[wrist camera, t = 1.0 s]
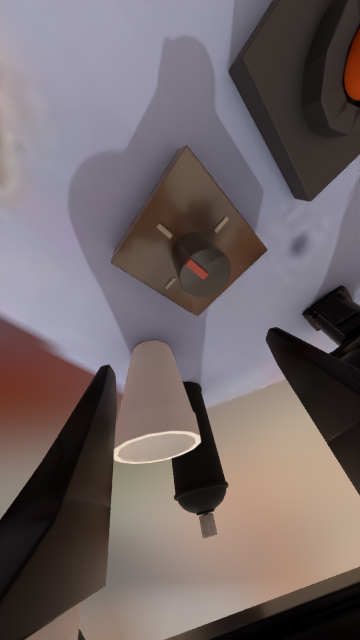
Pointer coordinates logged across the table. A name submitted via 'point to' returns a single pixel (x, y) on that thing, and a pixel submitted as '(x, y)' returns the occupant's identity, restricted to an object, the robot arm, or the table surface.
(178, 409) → the foam cup
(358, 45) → the power button
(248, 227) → the dial panel
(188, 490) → the aerosol can
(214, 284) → the dial
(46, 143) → the table surface
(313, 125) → the push button box
